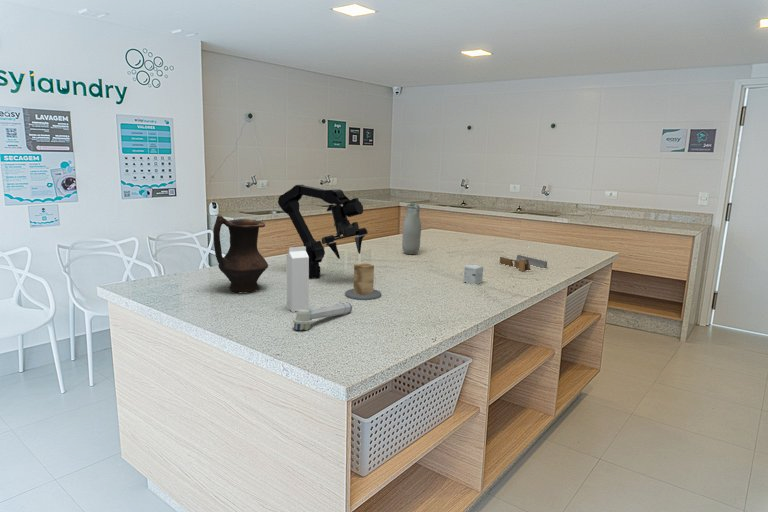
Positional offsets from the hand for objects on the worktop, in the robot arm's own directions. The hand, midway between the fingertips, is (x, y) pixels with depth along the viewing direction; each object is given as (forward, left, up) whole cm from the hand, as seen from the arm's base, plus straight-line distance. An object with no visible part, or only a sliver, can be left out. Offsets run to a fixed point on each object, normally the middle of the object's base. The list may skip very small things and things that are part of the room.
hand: (349, 256), depth 212 cm
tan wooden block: (+2, -18, -11) cm, 21 cm away
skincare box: (+53, -8, -12) cm, 55 cm away
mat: (+1, -18, -12) cm, 21 cm away
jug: (-44, -2, -12) cm, 45 cm away
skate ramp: (+89, +17, -13) cm, 92 cm away
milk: (-26, -31, -12) cm, 42 cm away
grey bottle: (+48, +57, -12) cm, 76 cm away
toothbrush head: (-19, -45, -12) cm, 51 cm away
